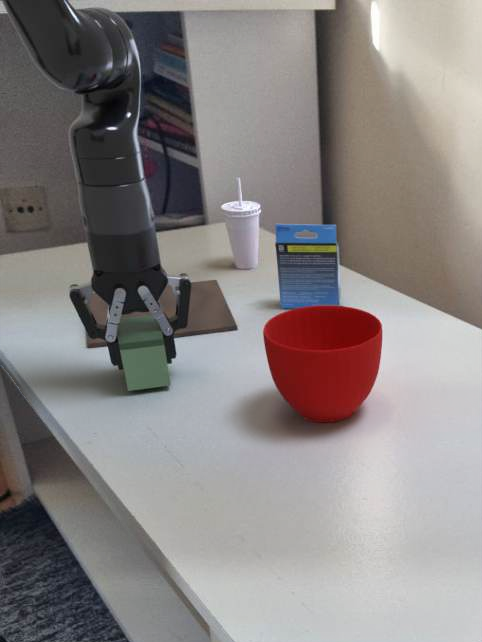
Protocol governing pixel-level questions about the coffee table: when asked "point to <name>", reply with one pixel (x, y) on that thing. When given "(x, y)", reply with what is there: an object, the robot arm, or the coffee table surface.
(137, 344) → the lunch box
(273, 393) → the coffee table surface
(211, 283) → the walnut board
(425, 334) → the coffee table surface
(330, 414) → the ceramic cup
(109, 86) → the robot arm
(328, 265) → the label tape box
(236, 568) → the coffee table surface
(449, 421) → the coffee table surface
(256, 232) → the smoothie
